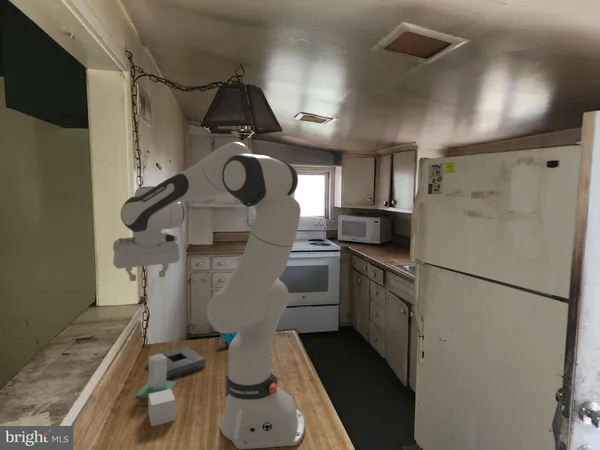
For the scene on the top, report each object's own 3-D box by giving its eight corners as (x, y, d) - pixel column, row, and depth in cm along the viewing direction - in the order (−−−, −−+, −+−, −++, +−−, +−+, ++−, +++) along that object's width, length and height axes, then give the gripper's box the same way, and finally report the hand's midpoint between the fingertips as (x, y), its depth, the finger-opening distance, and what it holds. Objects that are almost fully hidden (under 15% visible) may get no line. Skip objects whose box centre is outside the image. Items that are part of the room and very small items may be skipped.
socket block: (186, 353, 137) (186, 345, 137) (204, 366, 127) (204, 358, 127) (149, 364, 127) (149, 356, 127) (166, 379, 117) (166, 371, 117)
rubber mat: (177, 383, 116) (177, 381, 115) (165, 398, 107) (165, 397, 106) (149, 381, 116) (149, 379, 116) (136, 397, 107) (136, 395, 107)
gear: (225, 346, 140) (218, 323, 146) (218, 353, 143) (212, 330, 149) (248, 343, 148) (241, 321, 153) (241, 350, 151) (234, 328, 156)
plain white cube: (151, 427, 94) (151, 405, 93) (148, 414, 99) (148, 393, 99) (175, 420, 97) (175, 399, 96) (170, 408, 102) (171, 388, 102)
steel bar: (161, 383, 114) (161, 353, 113) (166, 388, 111) (166, 357, 110) (148, 387, 111) (148, 356, 110) (153, 393, 108) (153, 361, 107)
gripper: (116, 239, 106) (116, 285, 107) (181, 236, 120) (181, 276, 121) (110, 237, 111) (110, 281, 112) (173, 234, 125) (173, 273, 126)
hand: (147, 278), depth 117 cm, fingers open, 8 cm apart
